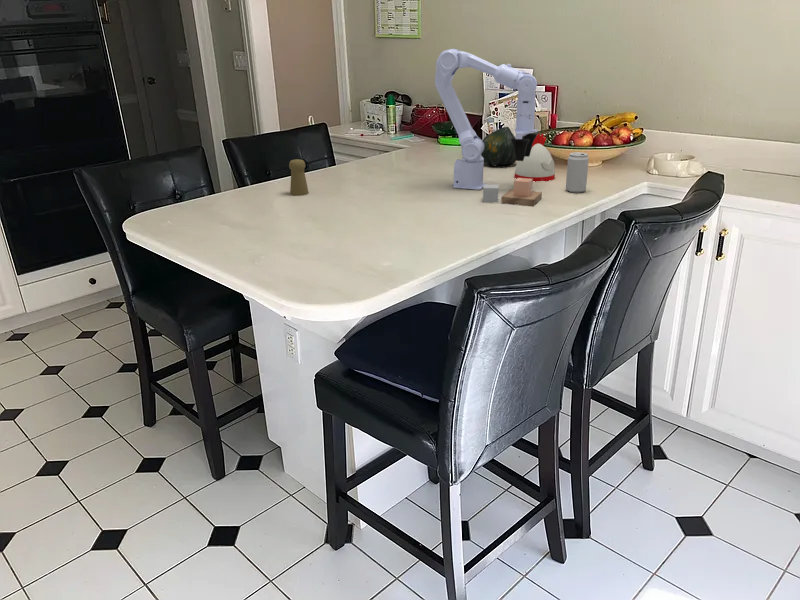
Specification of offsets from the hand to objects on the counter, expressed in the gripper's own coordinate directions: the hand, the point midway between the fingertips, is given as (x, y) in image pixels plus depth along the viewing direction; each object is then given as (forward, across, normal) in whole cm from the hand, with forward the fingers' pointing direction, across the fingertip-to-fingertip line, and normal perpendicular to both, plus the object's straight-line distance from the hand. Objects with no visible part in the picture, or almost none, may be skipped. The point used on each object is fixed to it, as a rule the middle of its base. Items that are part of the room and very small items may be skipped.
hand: (523, 158), depth 211 cm
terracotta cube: (+8, -15, -4) cm, 18 cm away
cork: (+10, -31, +66) cm, 74 cm away
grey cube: (+10, -18, +5) cm, 21 cm away
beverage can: (+10, +3, -17) cm, 20 cm away
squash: (+10, +35, +18) cm, 41 cm away
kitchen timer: (+10, +18, 0) cm, 21 cm away
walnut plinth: (+10, -15, -4) cm, 18 cm away
